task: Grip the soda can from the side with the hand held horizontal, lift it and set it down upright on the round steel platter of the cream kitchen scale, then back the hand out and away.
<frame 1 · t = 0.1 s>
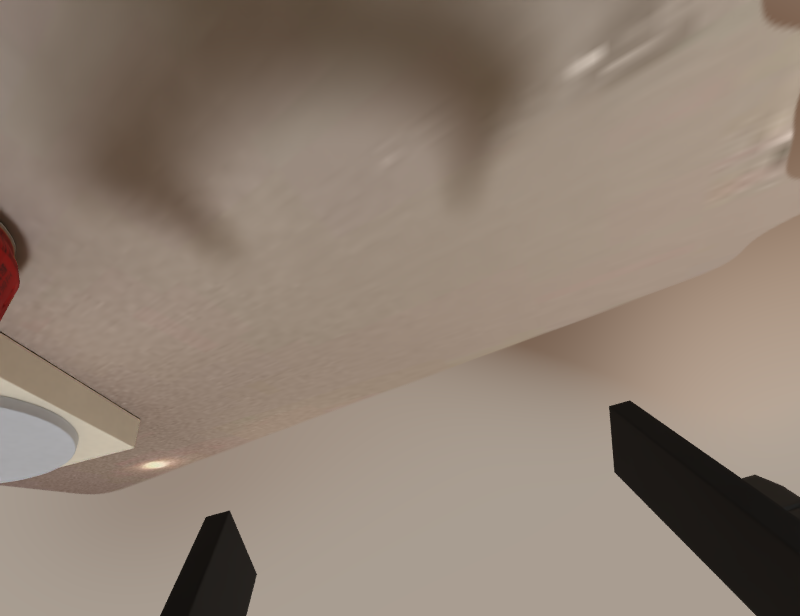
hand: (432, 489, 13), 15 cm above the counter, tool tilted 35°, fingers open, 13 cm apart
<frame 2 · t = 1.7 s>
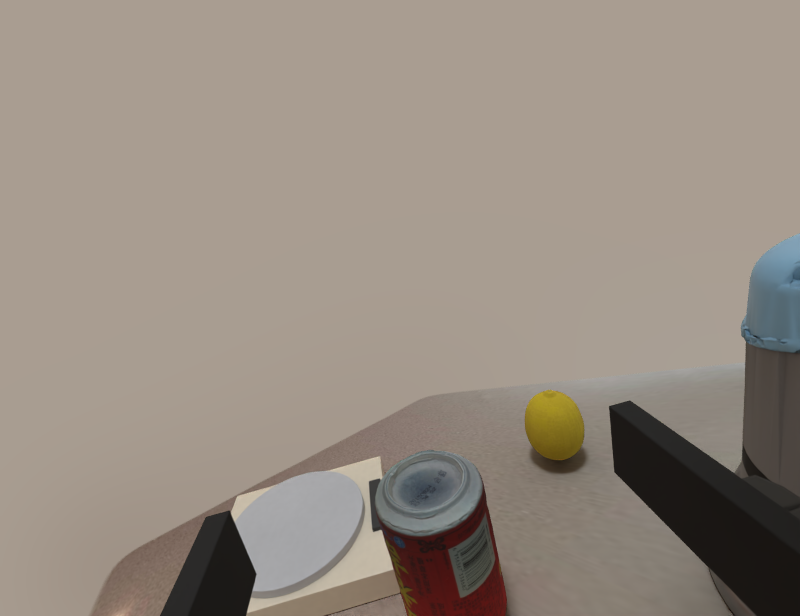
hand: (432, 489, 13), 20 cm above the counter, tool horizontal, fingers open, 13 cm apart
lemon: (558, 460, 40), on the counter
kitchen scale: (309, 546, 37), on the counter
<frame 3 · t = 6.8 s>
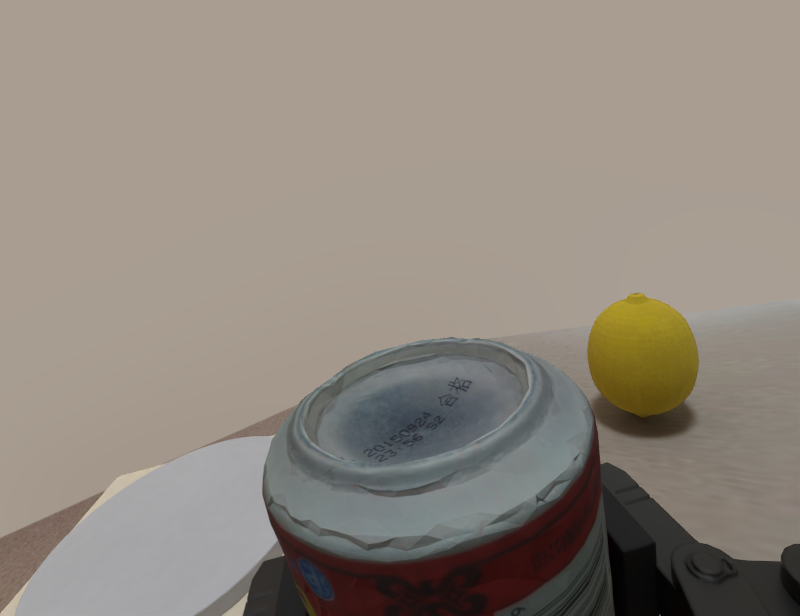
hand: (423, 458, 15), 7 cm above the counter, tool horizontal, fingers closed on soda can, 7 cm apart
lemon: (642, 418, 24), on the counter
kitchen scale: (213, 562, 21), on the counter
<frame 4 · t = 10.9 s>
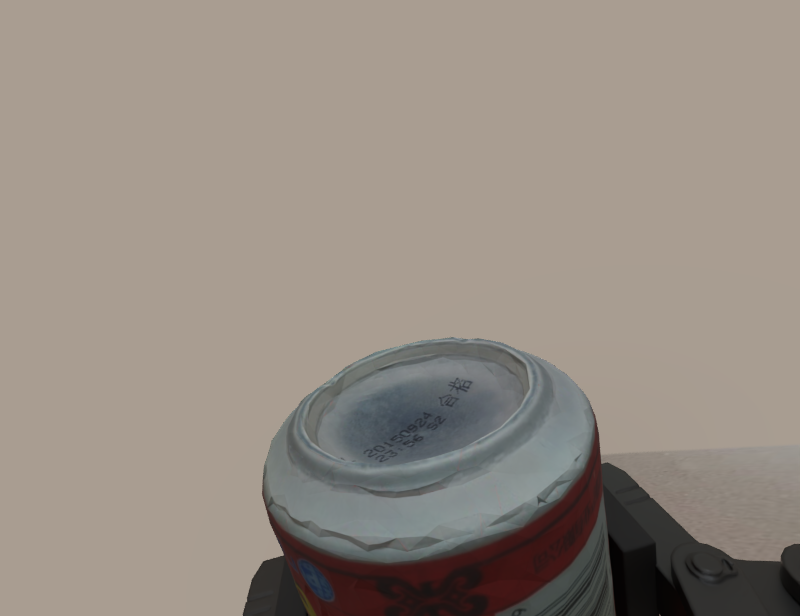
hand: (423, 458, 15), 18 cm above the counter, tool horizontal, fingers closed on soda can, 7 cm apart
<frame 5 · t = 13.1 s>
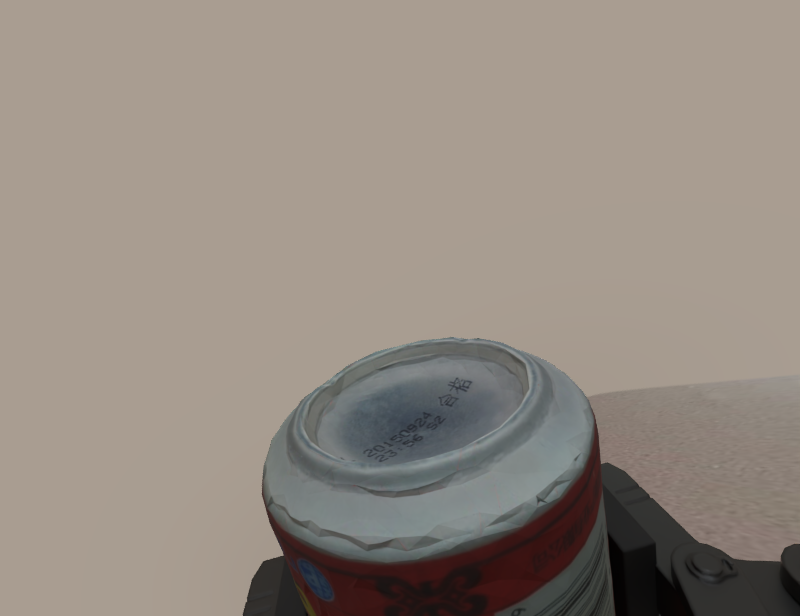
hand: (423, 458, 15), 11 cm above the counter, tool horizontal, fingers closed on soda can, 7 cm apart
when the fingers open (10 cm above the counter, at t = 13.8 s): soda can stays where it is, resting on kitchen scale.
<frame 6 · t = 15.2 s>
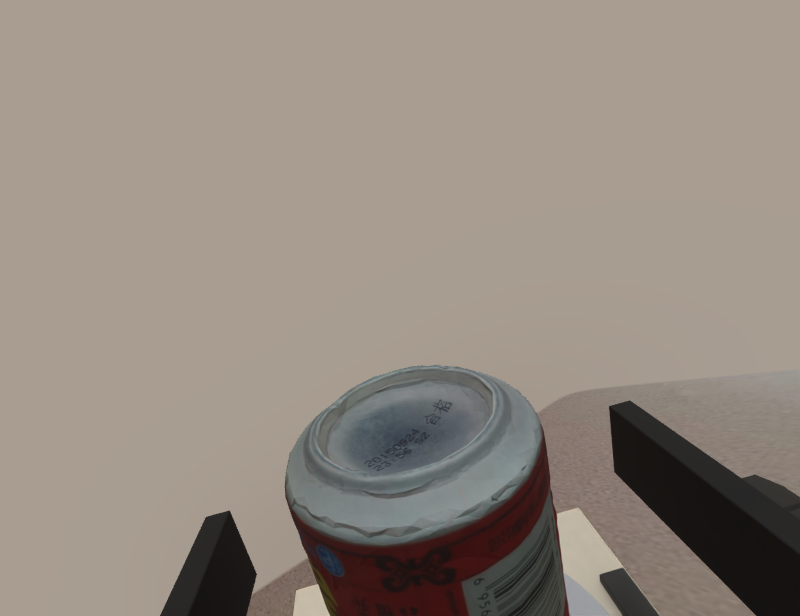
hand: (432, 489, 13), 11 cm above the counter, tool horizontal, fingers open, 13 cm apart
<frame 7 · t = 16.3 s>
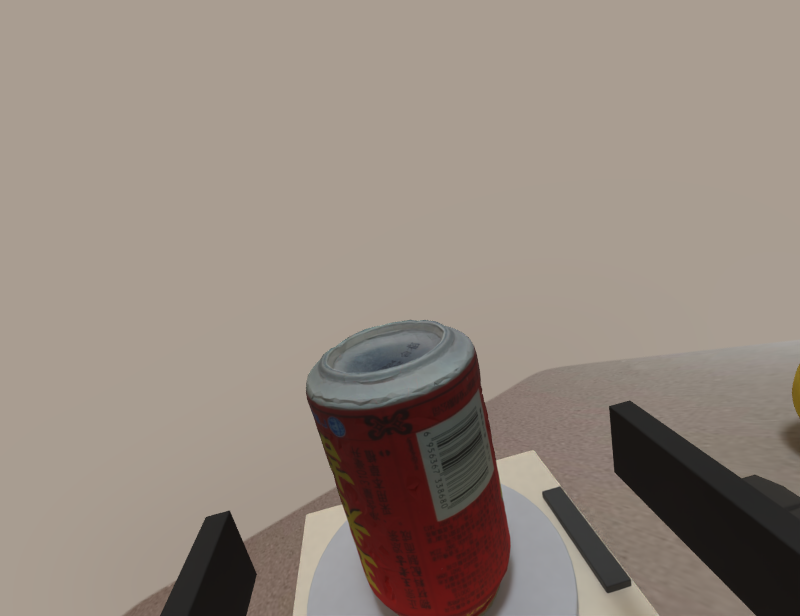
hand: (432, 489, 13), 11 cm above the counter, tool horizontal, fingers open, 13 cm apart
soda can: (442, 573, 19), point 3 cm above the counter, touching kitchen scale
kitchen scale: (456, 611, 20), on the counter
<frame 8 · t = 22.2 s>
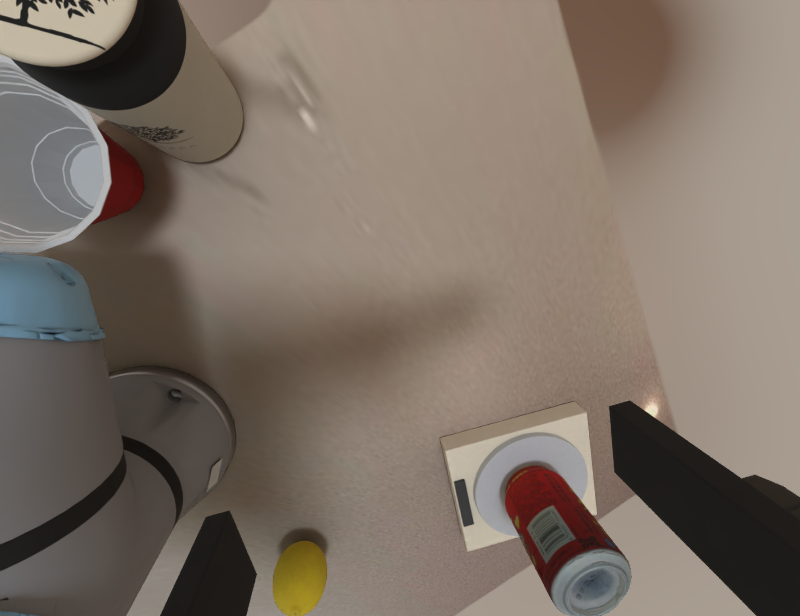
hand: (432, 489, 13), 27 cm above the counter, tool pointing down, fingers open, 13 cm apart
plastic cup: (111, 177, 33), on the counter, touching arm, travel mug
lemon: (305, 542, 45), on the counter
soda can: (528, 485, 43), point 3 cm above the counter, touching kitchen scale
kitchen scale: (516, 470, 46), on the counter
travel mug: (194, 114, 32), on the counter, touching plastic cup
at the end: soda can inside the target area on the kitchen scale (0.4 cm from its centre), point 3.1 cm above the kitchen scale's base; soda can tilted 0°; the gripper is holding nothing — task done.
